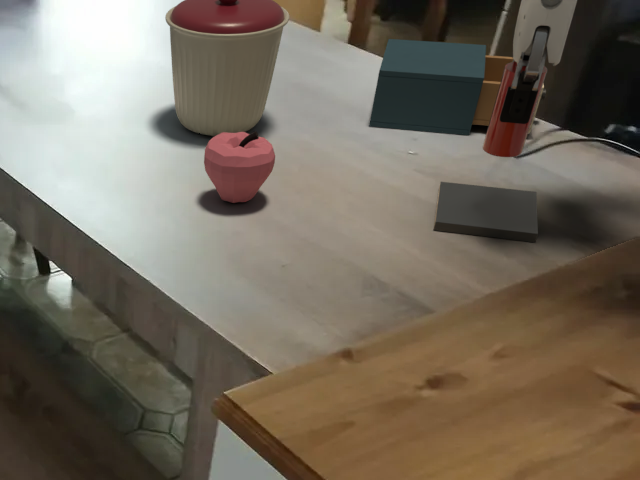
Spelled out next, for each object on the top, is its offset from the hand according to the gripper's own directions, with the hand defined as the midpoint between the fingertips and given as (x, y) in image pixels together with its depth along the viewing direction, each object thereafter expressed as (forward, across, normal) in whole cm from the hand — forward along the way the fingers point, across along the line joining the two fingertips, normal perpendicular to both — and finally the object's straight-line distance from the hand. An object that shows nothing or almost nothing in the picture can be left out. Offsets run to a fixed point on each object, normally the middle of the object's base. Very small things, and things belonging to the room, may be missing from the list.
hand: (513, 111), depth 112 cm
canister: (+14, +21, +40) cm, 47 cm away
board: (+14, 0, 0) cm, 14 cm away
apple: (+14, -4, +32) cm, 35 cm away
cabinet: (+14, +33, +10) cm, 37 cm away
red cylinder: (+5, 0, 0) cm, 5 cm away
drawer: (+13, +33, +1) cm, 35 cm away
